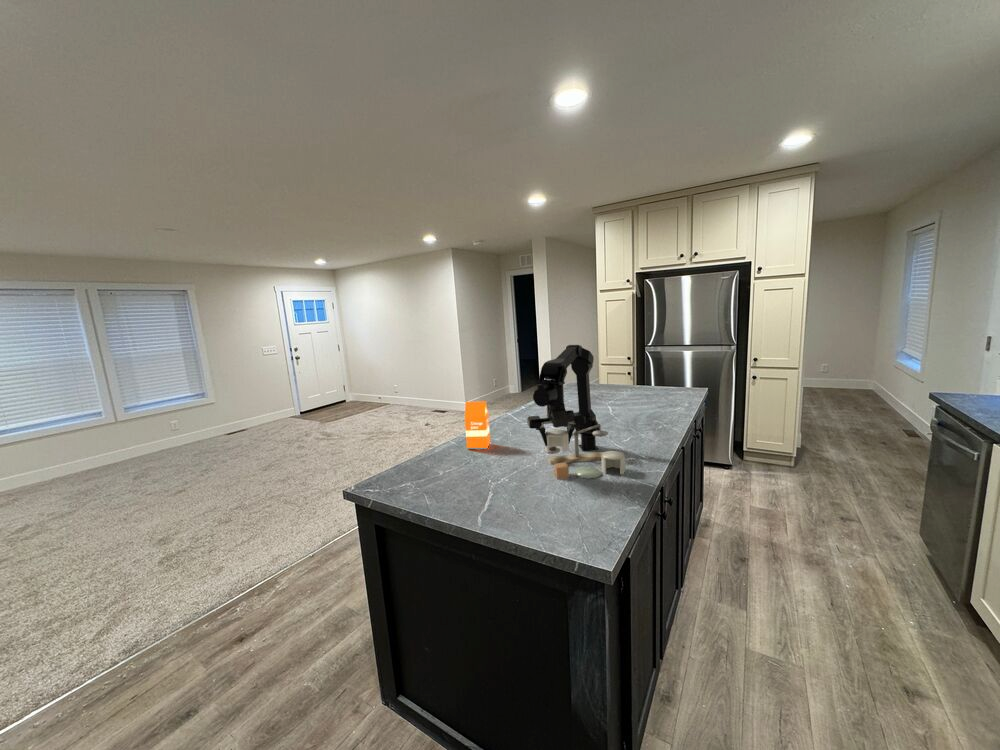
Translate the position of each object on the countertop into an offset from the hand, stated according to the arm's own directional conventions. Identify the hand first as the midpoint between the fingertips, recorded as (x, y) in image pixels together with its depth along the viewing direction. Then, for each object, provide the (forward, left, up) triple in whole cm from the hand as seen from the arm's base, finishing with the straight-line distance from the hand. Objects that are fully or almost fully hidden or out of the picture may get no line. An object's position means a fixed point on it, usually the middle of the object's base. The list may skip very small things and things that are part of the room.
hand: (557, 444), depth 135 cm
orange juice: (-37, -26, -11) cm, 47 cm away
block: (0, +1, -11) cm, 11 cm away
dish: (0, +10, -11) cm, 15 cm away
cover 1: (0, 0, -2) cm, 2 cm away
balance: (-13, +10, -11) cm, 20 cm away
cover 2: (0, +19, -11) cm, 22 cm away
